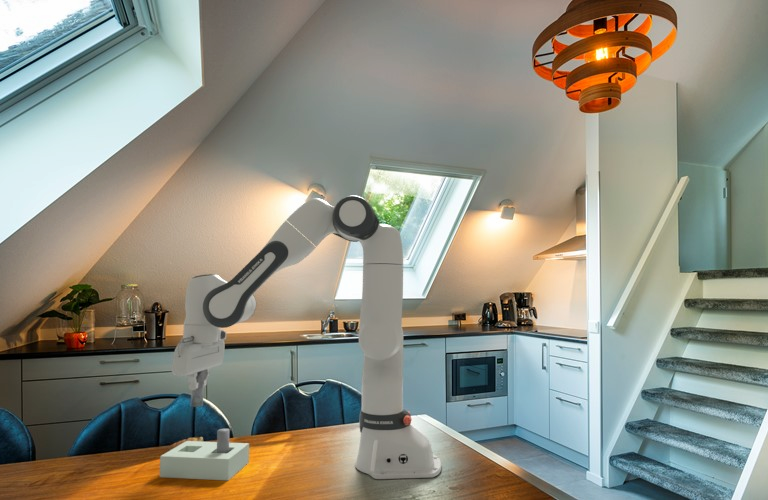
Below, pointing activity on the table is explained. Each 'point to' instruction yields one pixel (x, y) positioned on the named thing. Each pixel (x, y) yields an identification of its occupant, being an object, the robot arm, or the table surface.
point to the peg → (198, 391)
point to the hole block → (205, 459)
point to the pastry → (184, 441)
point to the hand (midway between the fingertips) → (197, 387)
